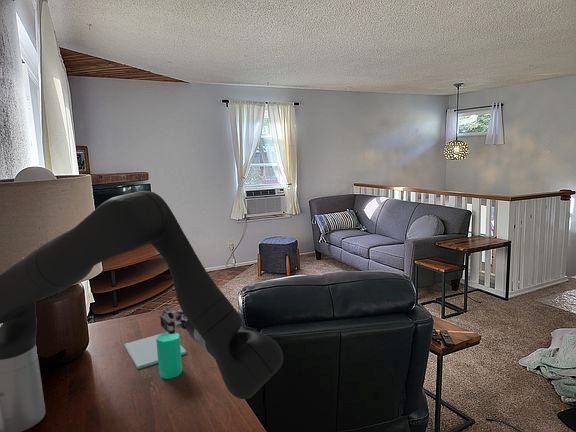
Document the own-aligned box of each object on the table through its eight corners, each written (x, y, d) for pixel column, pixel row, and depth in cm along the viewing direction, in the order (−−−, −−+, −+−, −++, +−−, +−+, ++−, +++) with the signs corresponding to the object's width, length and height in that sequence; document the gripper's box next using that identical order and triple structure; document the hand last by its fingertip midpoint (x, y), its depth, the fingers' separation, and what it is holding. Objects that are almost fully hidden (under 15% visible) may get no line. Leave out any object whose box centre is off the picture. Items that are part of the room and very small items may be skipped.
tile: (186, 353, 114) (186, 351, 114) (137, 369, 106) (137, 366, 106) (169, 333, 127) (169, 331, 127) (124, 346, 119) (124, 343, 119)
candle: (168, 381, 100) (164, 338, 98) (154, 373, 104) (151, 332, 102) (186, 370, 105) (183, 329, 103) (173, 363, 108) (170, 324, 106)
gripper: (242, 303, 81) (211, 283, 94) (176, 321, 73) (152, 297, 86) (244, 337, 82) (213, 312, 95) (179, 358, 74) (155, 328, 87)
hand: (184, 305), depth 91 cm, fingers open, 8 cm apart
